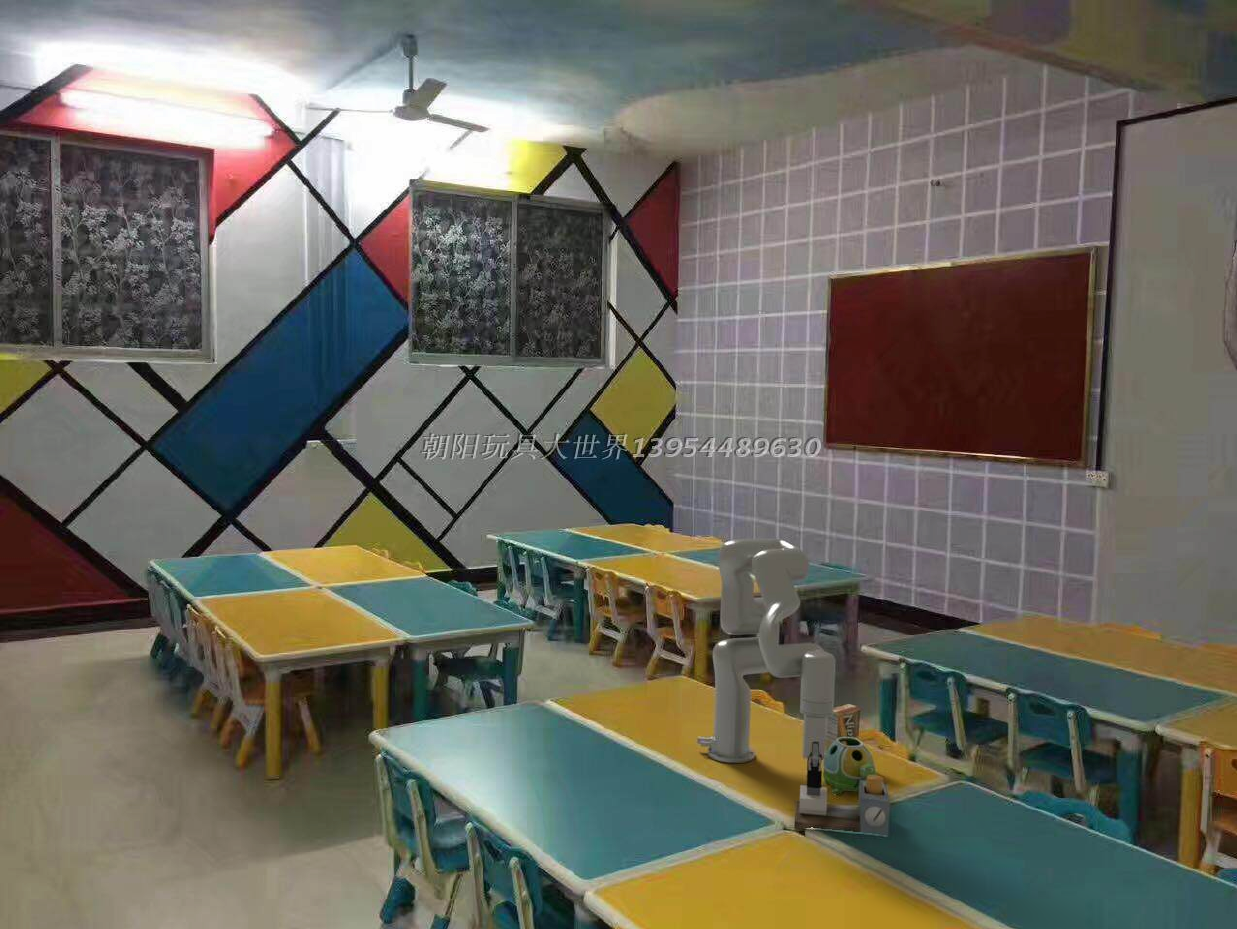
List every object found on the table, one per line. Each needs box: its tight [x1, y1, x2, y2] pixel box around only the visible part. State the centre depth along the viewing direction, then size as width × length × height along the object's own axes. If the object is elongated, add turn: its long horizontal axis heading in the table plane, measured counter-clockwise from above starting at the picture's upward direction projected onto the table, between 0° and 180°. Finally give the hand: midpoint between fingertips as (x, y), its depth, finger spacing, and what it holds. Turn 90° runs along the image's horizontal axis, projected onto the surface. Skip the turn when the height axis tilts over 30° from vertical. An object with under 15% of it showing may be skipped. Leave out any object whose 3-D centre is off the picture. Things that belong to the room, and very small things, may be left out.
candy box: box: [825, 703, 861, 753], centre depth 273 cm, size 9×4×15 cm, turn 129°
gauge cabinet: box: [857, 780, 891, 836], centre depth 236 cm, size 6×12×8 cm, turn 169°
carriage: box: [799, 760, 828, 815], centre depth 238 cm, size 6×8×11 cm
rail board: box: [793, 800, 861, 832], centre depth 238 cm, size 14×12×4 cm
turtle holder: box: [822, 737, 878, 796], centre depth 255 cm, size 12×18×12 cm
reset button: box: [866, 774, 884, 795], centre depth 235 cm, size 4×4×4 cm
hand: (813, 779), depth 238 cm, fingers open, 9 cm apart
